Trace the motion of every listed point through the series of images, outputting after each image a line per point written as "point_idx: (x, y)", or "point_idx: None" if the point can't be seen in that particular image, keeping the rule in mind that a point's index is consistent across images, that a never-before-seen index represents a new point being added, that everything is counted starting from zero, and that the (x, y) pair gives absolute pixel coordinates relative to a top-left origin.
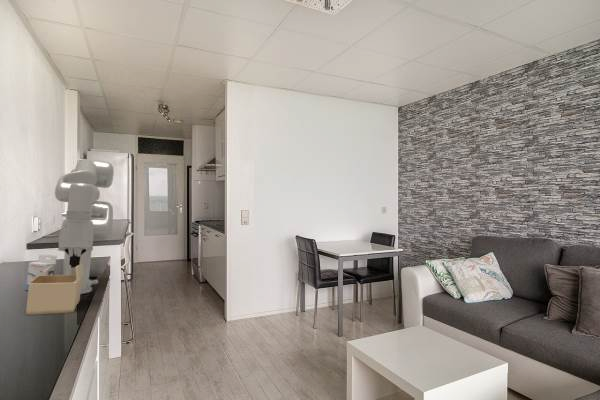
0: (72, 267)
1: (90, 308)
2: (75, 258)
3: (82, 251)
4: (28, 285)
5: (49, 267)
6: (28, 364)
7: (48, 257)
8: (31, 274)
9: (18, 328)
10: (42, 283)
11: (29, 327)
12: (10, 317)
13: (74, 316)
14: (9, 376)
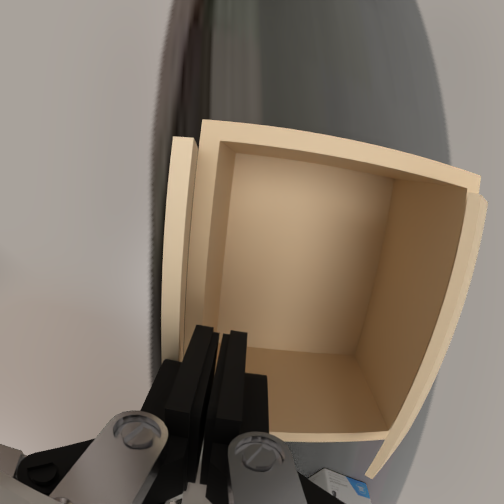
0: (231, 330)
1: (157, 190)
2: (189, 391)
3: (71, 475)
4: (365, 494)
5: (404, 411)
6: None
7: None
8: None
9: (392, 10)
10: (423, 166)
11: (364, 4)
12: (439, 159)
13: (222, 74)
14: None
